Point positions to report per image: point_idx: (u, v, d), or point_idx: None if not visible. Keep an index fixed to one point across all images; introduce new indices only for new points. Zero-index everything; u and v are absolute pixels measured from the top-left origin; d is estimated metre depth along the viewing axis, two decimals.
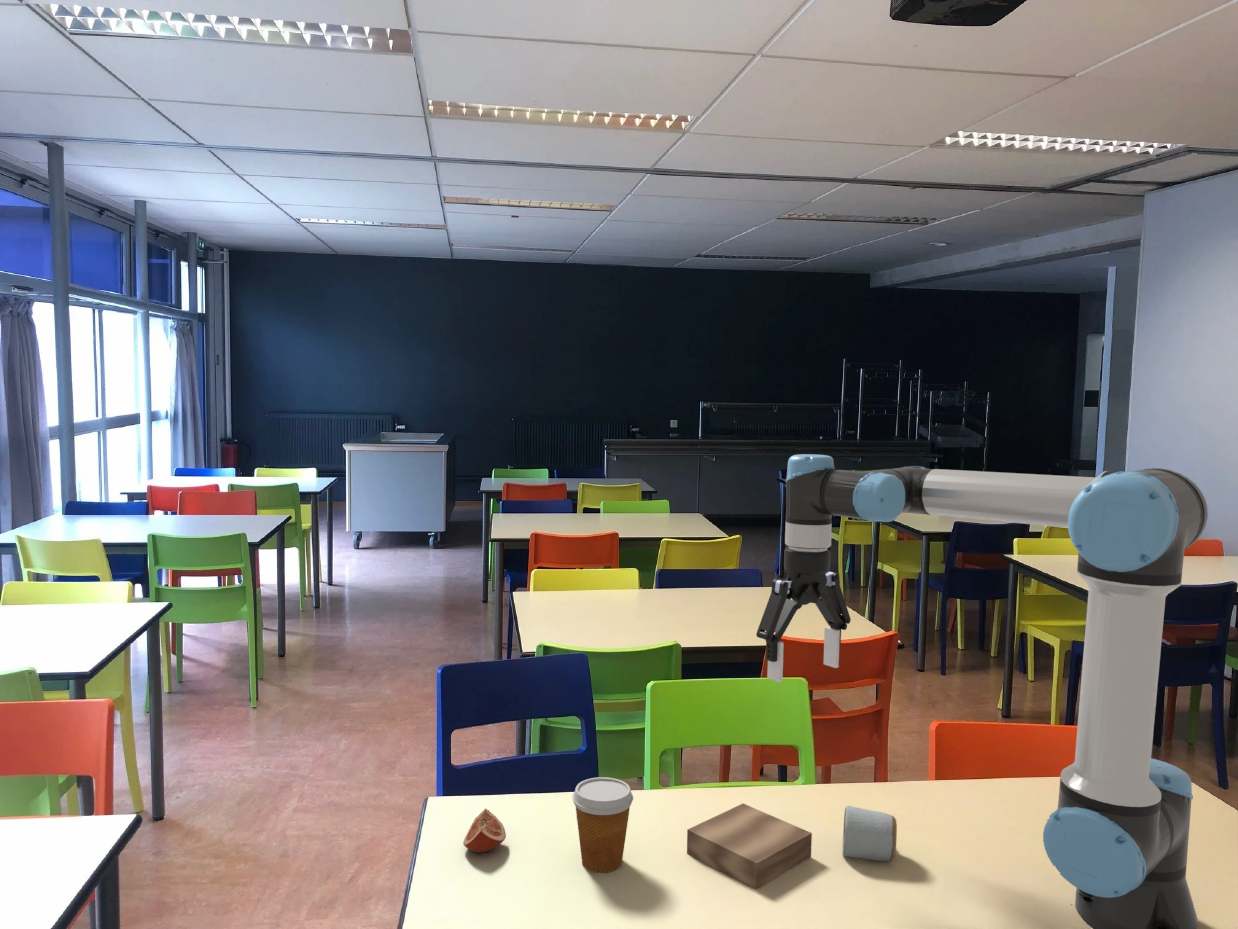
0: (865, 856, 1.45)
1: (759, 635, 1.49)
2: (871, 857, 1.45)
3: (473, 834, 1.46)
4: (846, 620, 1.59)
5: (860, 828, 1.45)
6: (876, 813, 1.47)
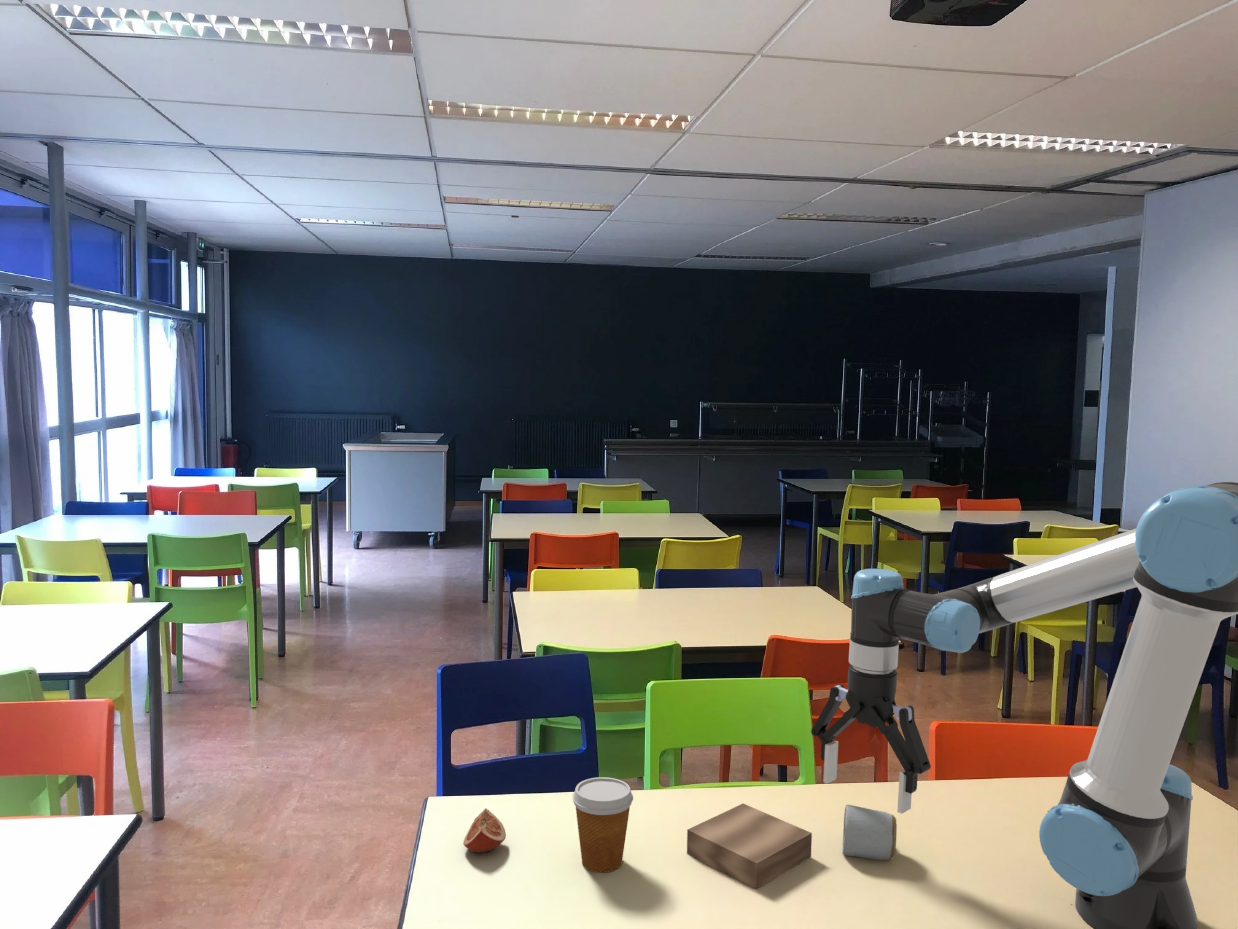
0: (865, 855, 1.46)
1: None
2: (871, 856, 1.46)
3: (473, 834, 1.46)
4: (916, 768, 1.41)
5: (860, 827, 1.45)
6: (876, 812, 1.48)
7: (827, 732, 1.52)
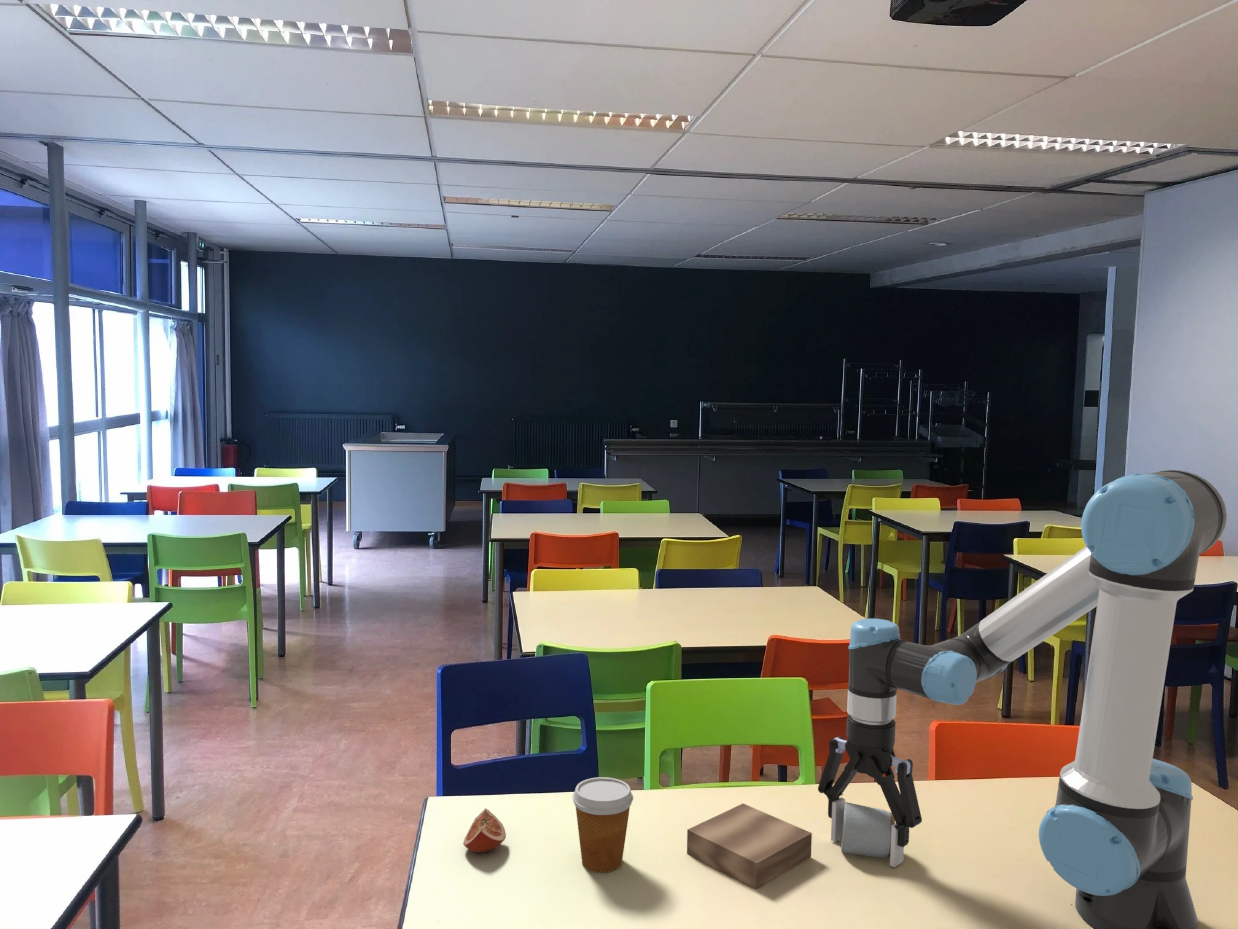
0: (863, 852, 1.46)
1: None
2: (869, 853, 1.46)
3: (473, 834, 1.46)
4: (907, 822, 1.42)
5: (858, 825, 1.46)
6: (875, 810, 1.48)
7: (833, 789, 1.52)
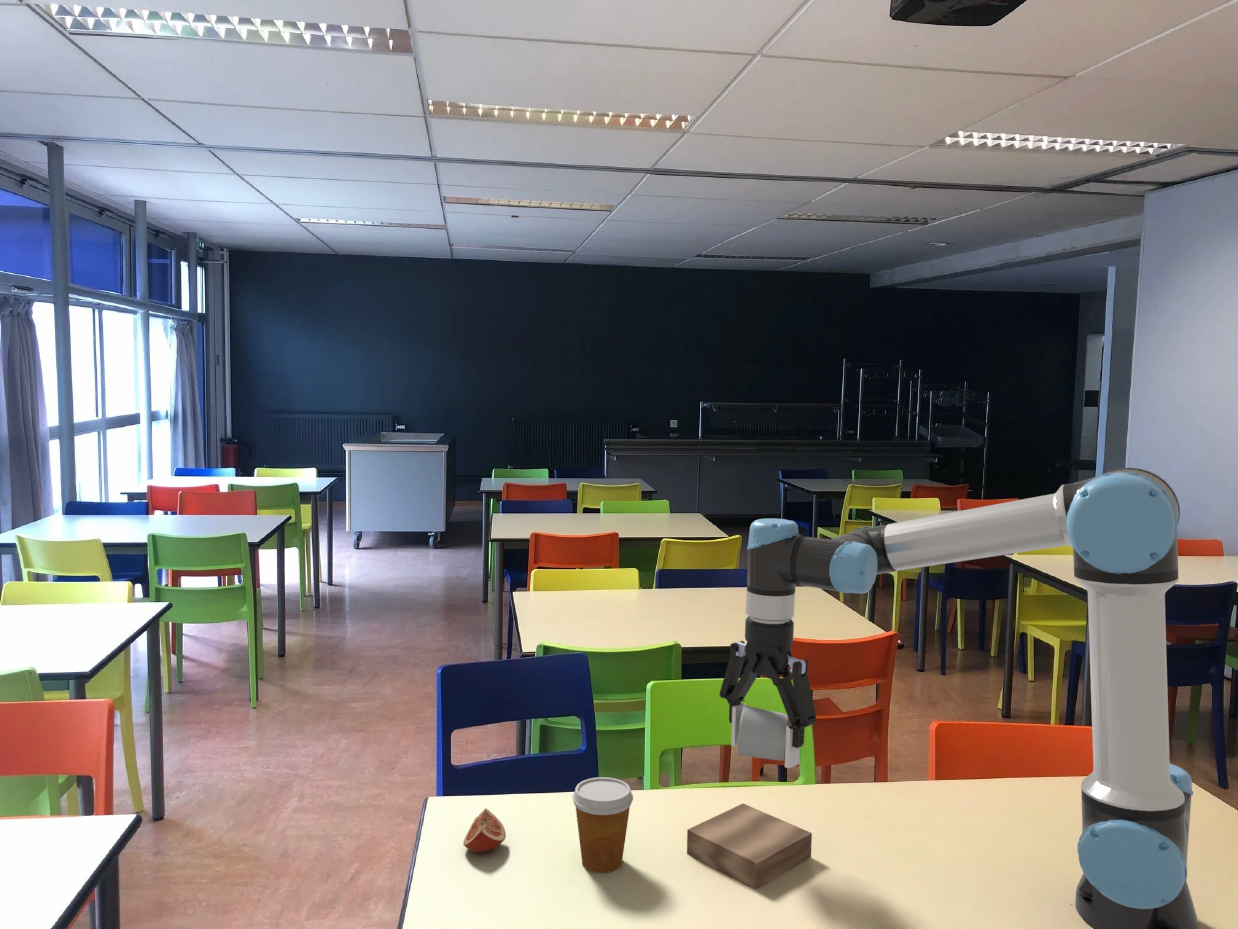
0: (759, 754, 1.44)
1: None
2: (765, 755, 1.44)
3: (473, 834, 1.46)
4: (801, 721, 1.40)
5: (754, 726, 1.44)
6: (773, 712, 1.46)
7: (733, 693, 1.50)
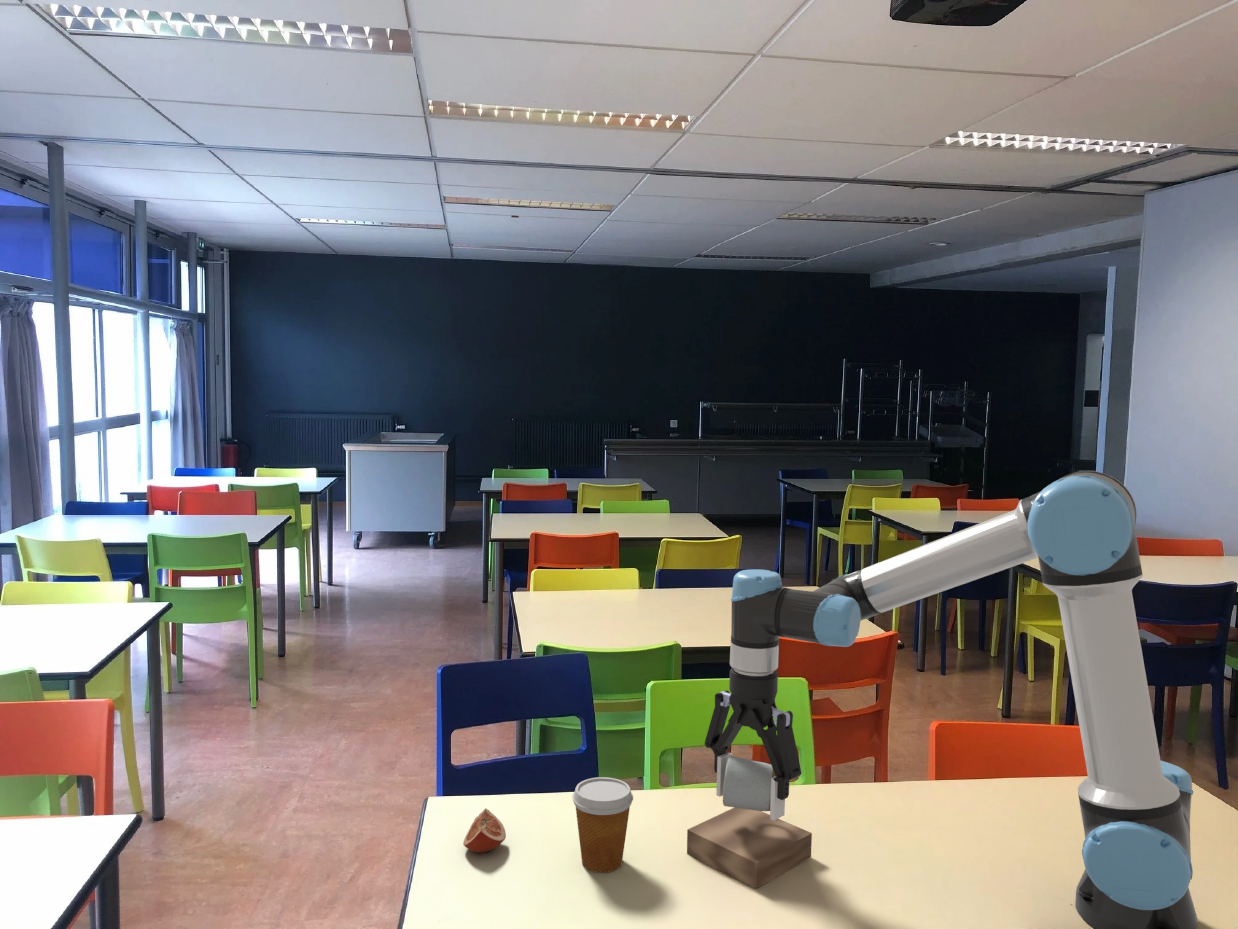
0: (744, 806, 1.44)
1: None
2: (750, 807, 1.44)
3: (473, 834, 1.46)
4: (786, 774, 1.40)
5: (739, 777, 1.44)
6: (758, 763, 1.46)
7: (718, 743, 1.50)
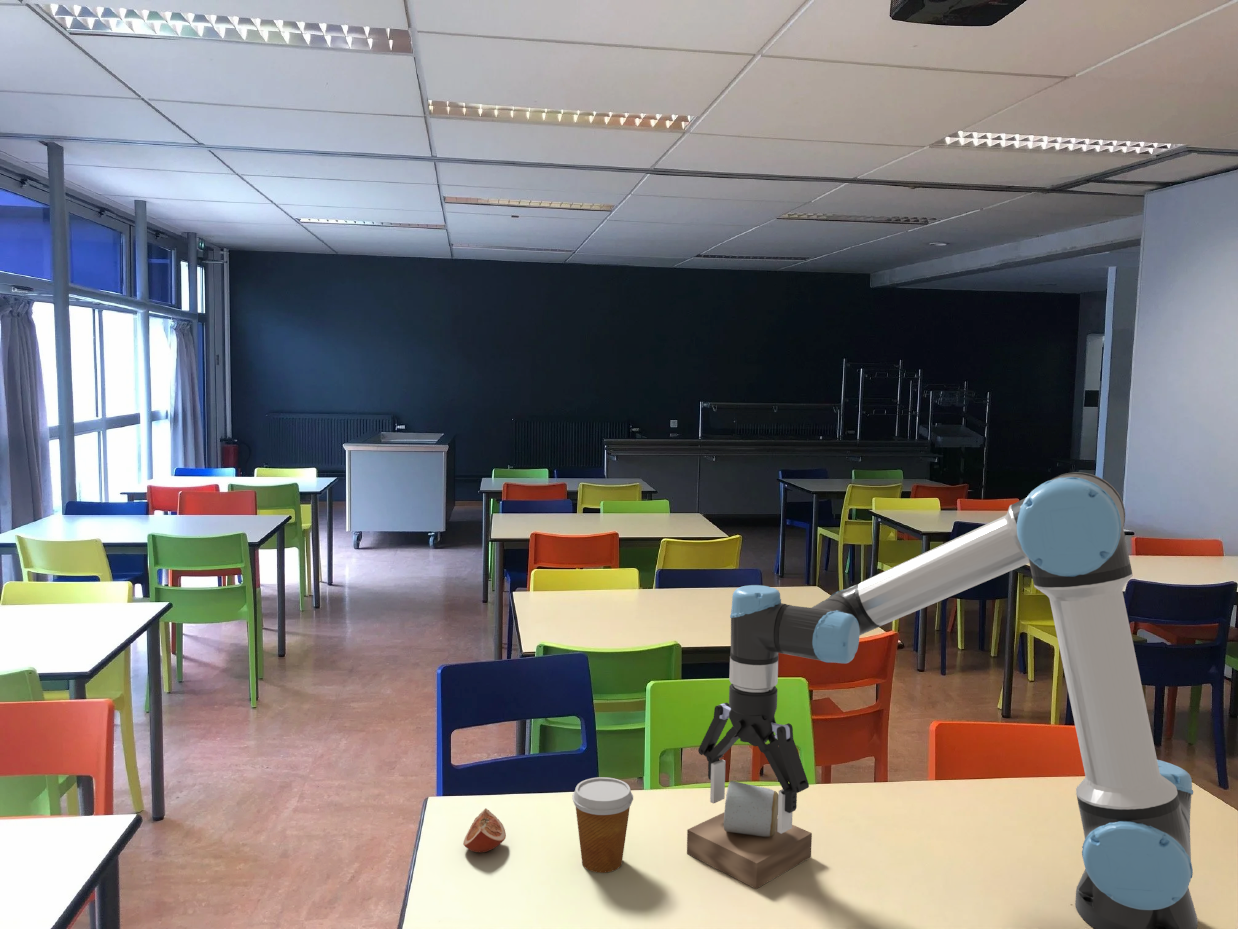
0: (745, 831, 1.44)
1: None
2: (751, 832, 1.44)
3: (473, 834, 1.46)
4: (793, 787, 1.39)
5: (740, 803, 1.44)
6: (758, 788, 1.46)
7: (713, 751, 1.51)
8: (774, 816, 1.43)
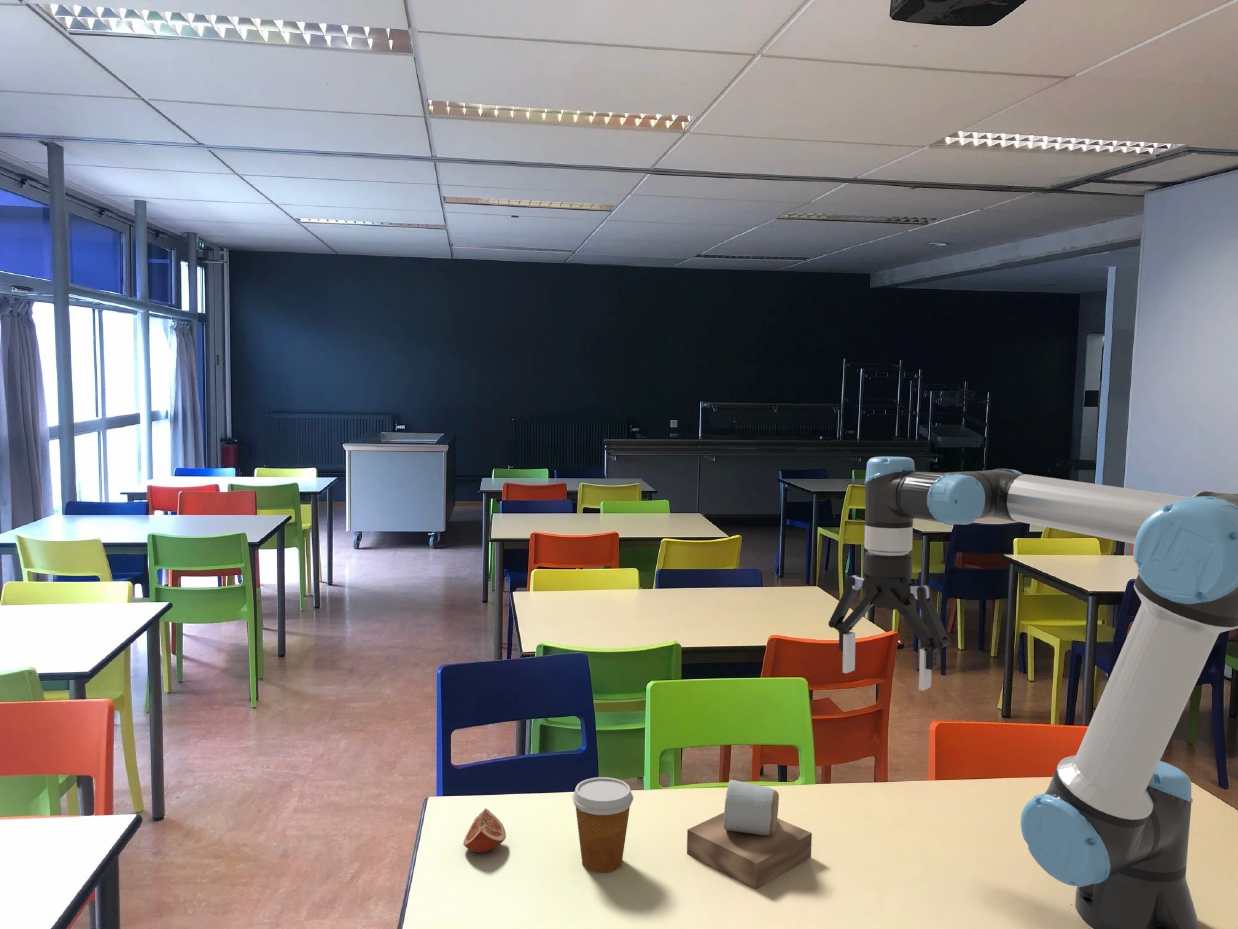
0: (745, 830, 1.45)
1: None
2: (751, 831, 1.45)
3: (473, 834, 1.46)
4: (936, 643, 1.44)
5: (740, 802, 1.44)
6: (758, 787, 1.47)
7: (845, 622, 1.55)
8: (774, 815, 1.43)
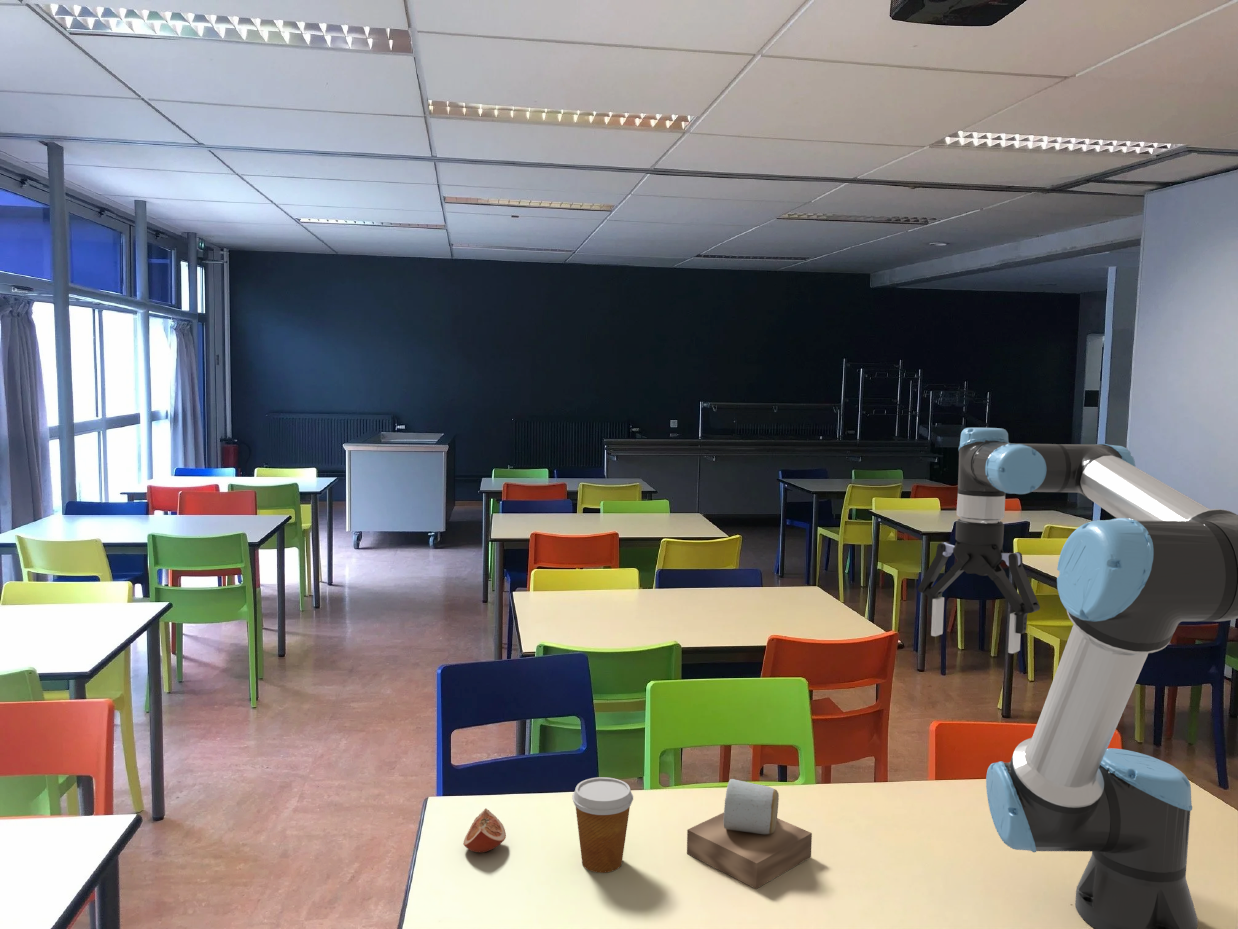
0: (745, 829, 1.45)
1: None
2: (751, 830, 1.45)
3: (473, 834, 1.46)
4: (1026, 608, 1.49)
5: (740, 801, 1.45)
6: (758, 786, 1.47)
7: (934, 587, 1.61)
8: (773, 814, 1.44)
